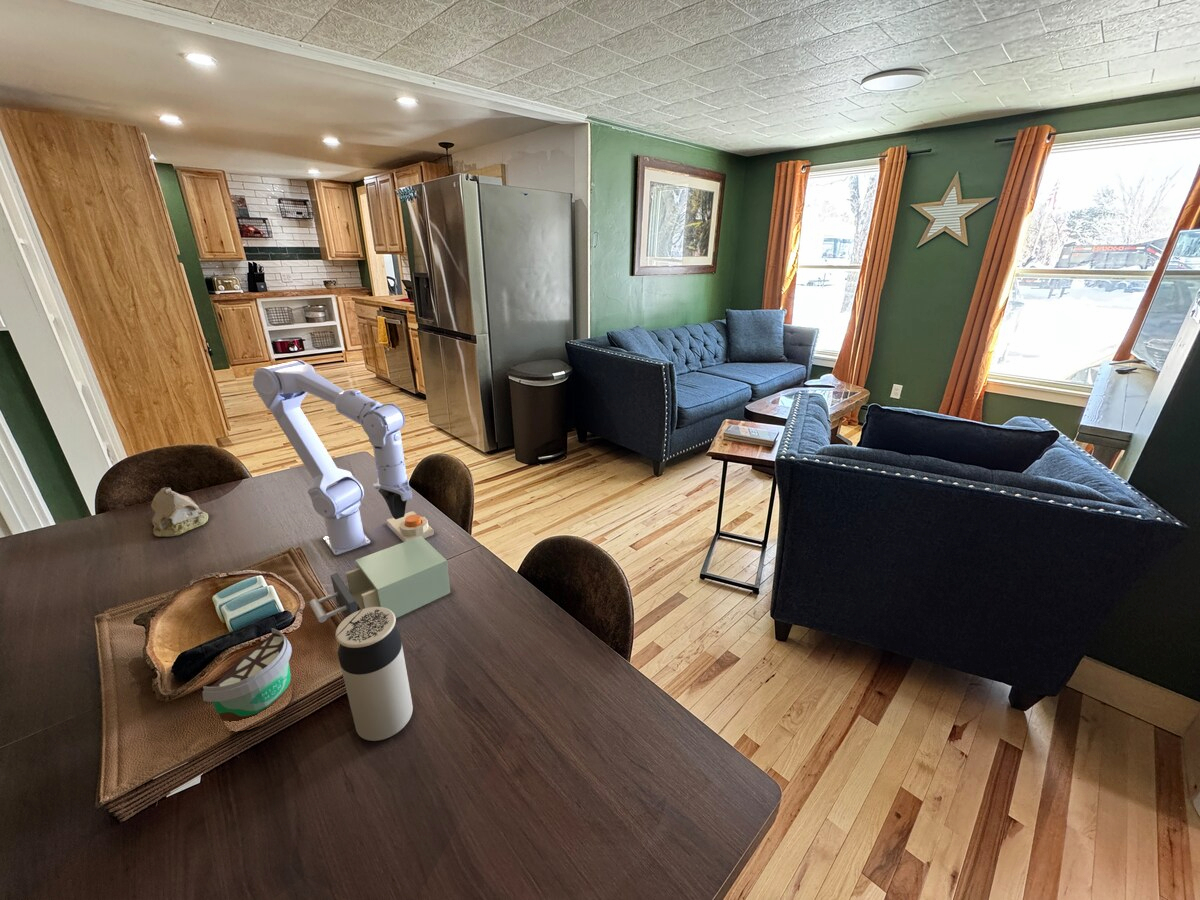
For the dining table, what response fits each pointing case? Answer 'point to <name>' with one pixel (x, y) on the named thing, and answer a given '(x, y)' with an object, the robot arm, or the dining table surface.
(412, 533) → the control block
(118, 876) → the dining table surface
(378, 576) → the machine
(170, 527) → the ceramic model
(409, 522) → the button
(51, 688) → the dining table surface
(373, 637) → the travel mug
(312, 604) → the compartment
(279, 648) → the food container
